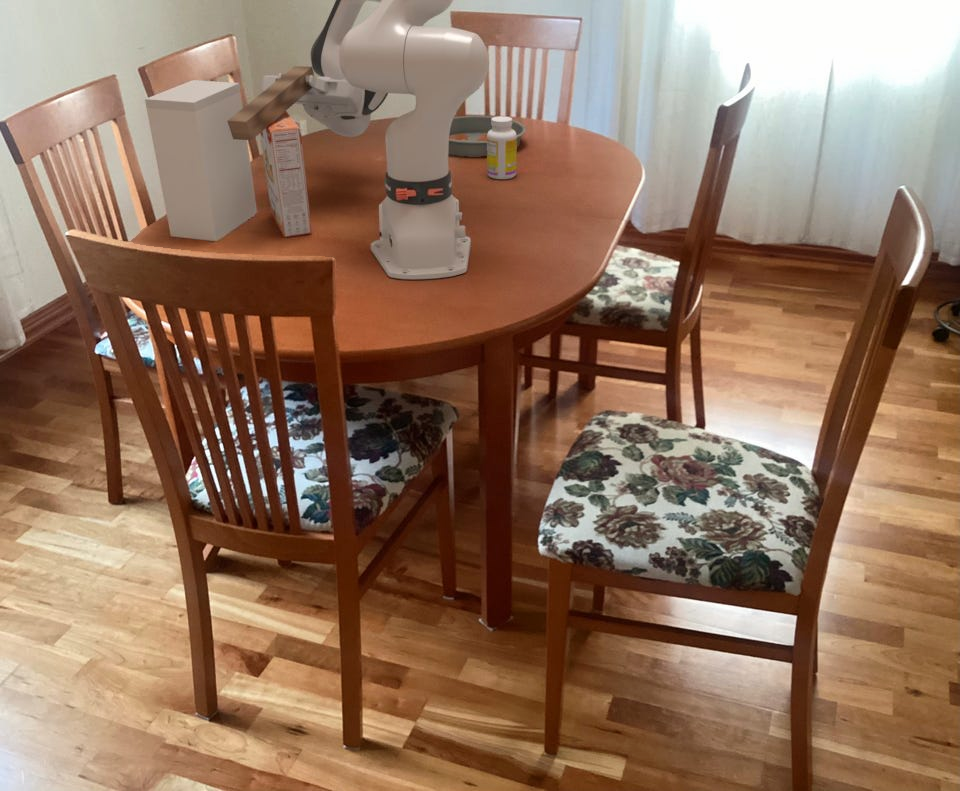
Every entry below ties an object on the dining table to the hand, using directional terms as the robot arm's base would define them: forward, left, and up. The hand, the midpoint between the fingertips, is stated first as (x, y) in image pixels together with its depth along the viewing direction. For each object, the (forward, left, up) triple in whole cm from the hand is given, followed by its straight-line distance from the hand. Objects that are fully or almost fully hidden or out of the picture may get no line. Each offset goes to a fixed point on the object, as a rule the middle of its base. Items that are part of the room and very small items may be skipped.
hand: (294, 78), depth 176 cm
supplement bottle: (+17, -43, -27) cm, 53 cm away
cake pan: (+43, -41, -27) cm, 65 cm away
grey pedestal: (-5, +18, -26) cm, 33 cm away
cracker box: (-8, +3, -27) cm, 28 cm away
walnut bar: (-6, +4, -4) cm, 9 cm away
